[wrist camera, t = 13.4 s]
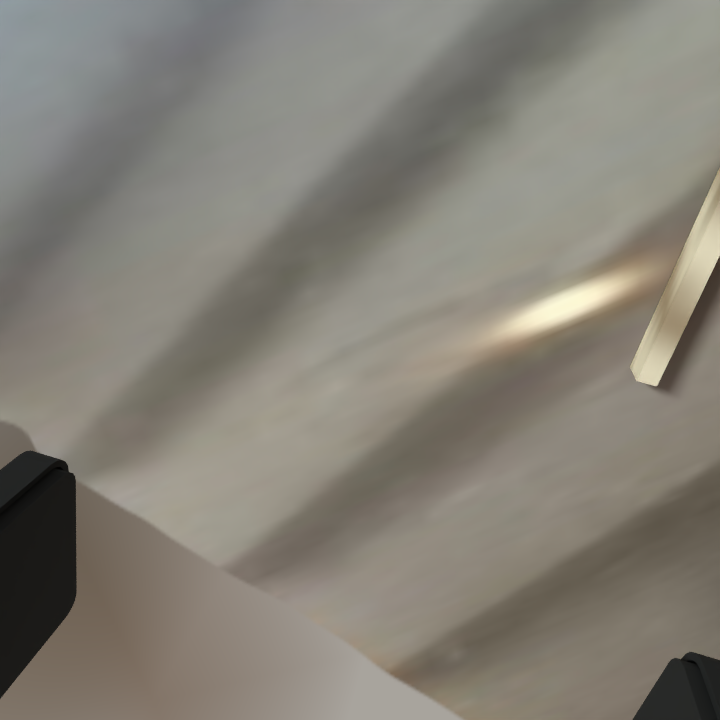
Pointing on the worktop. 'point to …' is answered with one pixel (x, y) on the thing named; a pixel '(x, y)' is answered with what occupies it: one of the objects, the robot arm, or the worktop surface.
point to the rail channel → (681, 292)
